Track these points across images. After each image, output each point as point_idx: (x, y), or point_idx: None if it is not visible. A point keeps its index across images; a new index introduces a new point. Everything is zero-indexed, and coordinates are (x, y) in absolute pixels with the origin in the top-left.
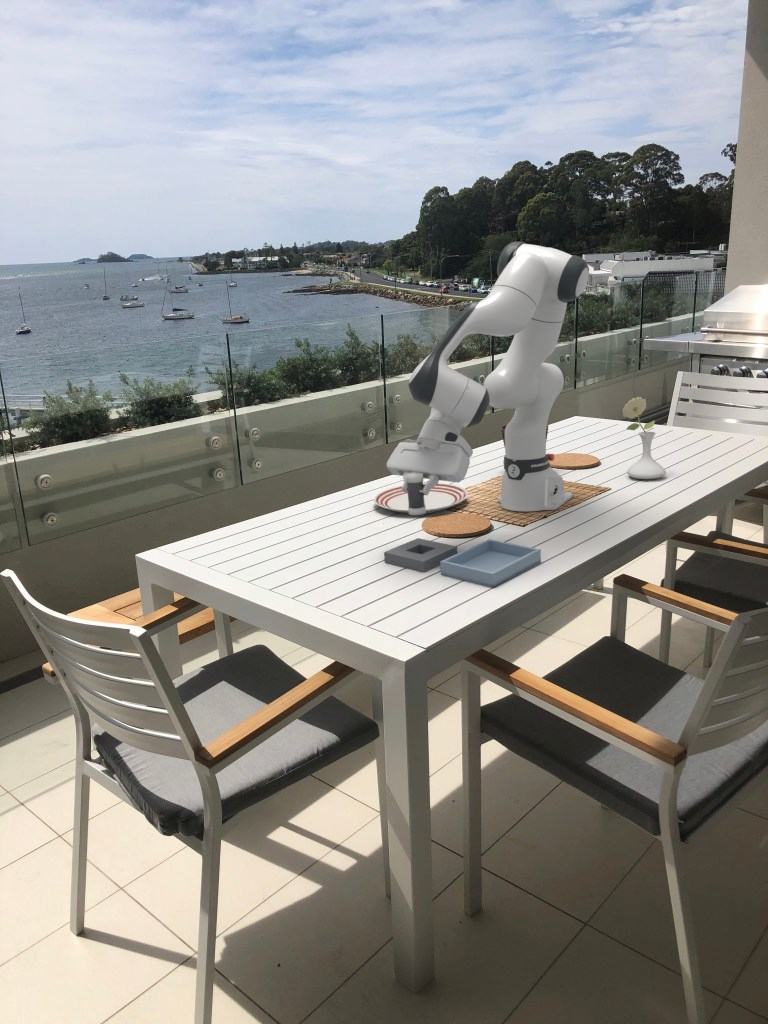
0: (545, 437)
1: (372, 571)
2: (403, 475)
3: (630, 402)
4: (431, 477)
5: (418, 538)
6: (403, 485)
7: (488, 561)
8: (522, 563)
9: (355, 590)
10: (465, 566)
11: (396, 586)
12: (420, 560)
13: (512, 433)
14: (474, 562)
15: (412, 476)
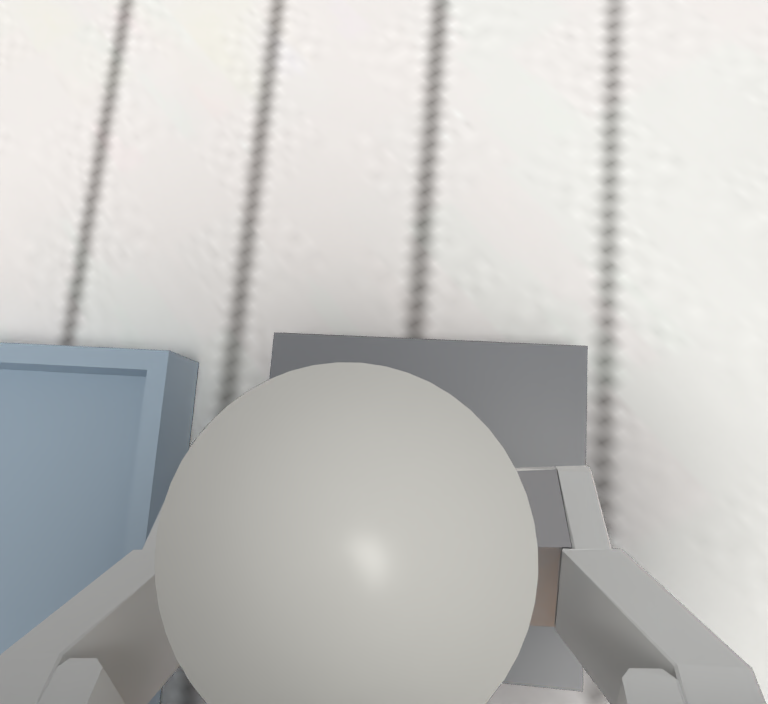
0: None
1: (537, 220)
2: (733, 665)
3: None
4: (38, 678)
5: (573, 684)
6: (583, 499)
7: (47, 616)
8: None
9: (434, 9)
10: (13, 355)
11: (298, 138)
12: (299, 339)
13: None
14: (105, 564)
15: (265, 387)
